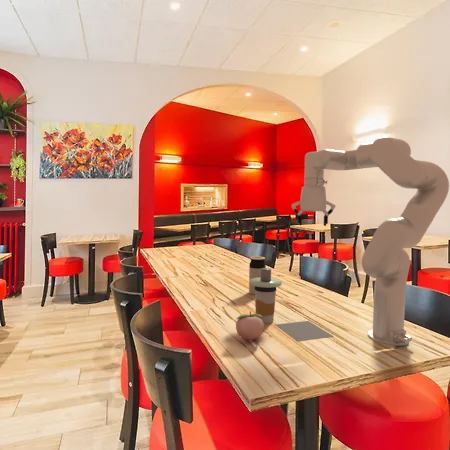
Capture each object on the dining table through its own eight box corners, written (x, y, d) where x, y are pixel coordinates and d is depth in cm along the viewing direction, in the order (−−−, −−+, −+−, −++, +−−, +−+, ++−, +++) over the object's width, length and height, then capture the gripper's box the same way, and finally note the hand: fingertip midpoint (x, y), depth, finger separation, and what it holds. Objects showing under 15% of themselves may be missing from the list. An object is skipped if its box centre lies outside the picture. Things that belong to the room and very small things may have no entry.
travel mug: (257, 296, 170) (257, 259, 168) (245, 292, 176) (246, 257, 174) (268, 293, 175) (269, 257, 174) (256, 290, 181) (257, 255, 180)
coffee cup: (280, 322, 134) (281, 283, 133) (267, 327, 128) (267, 287, 127) (262, 316, 140) (263, 279, 139) (249, 322, 134) (249, 283, 133)
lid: (287, 286, 129) (287, 271, 129) (257, 288, 125) (257, 273, 125) (272, 279, 140) (273, 265, 140) (244, 281, 136) (245, 267, 136)
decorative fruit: (243, 348, 110) (243, 317, 109) (232, 339, 117) (232, 309, 117) (269, 344, 114) (269, 313, 113) (257, 335, 121) (257, 306, 120)
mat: (334, 338, 119) (334, 336, 119) (297, 343, 115) (297, 341, 115) (308, 322, 134) (308, 320, 134) (275, 326, 130) (275, 324, 130)
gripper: (335, 183, 144) (333, 225, 145) (292, 183, 147) (291, 224, 149) (337, 182, 137) (335, 226, 138) (291, 182, 140) (290, 225, 141)
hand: (312, 225), depth 143 cm, fingers open, 9 cm apart
